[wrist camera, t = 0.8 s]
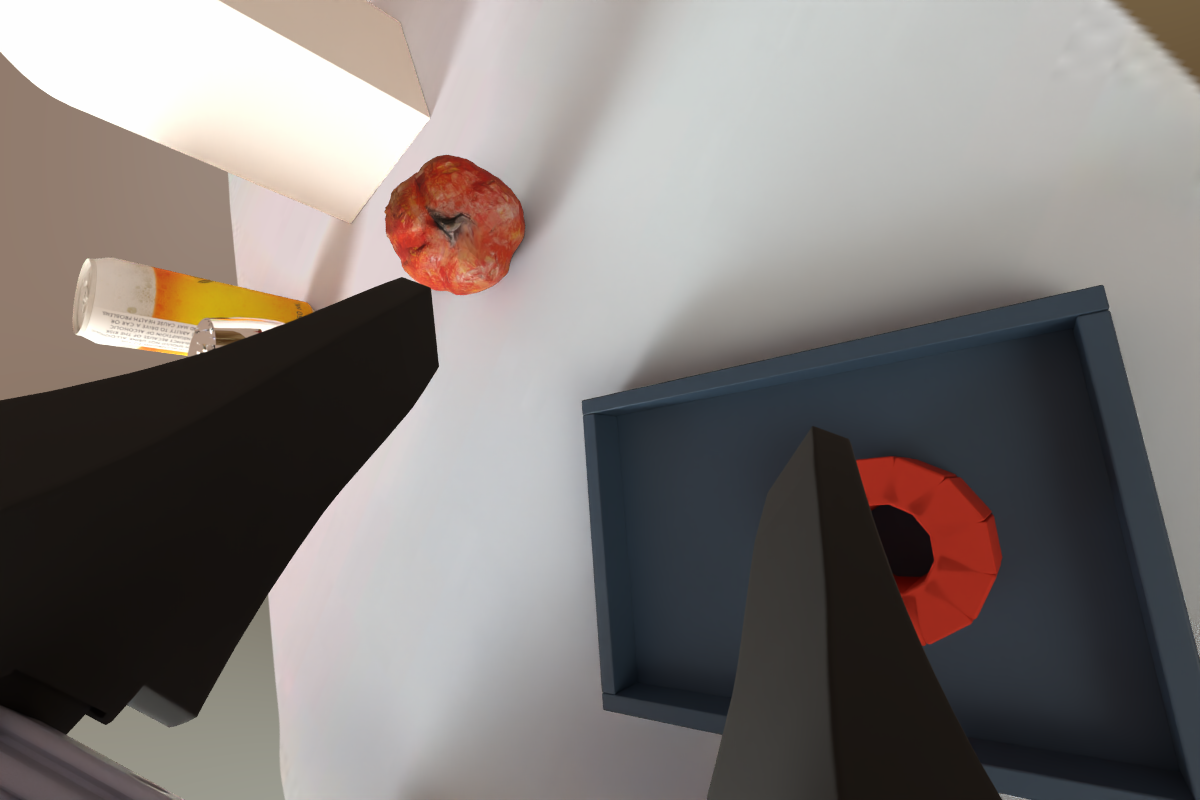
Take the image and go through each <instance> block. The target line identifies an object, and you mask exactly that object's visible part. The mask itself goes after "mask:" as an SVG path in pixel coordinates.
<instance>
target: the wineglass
mask: <svg viewBox="0 0 1200 800" xmlns="http://www.w3.org/2000/svg"><path fill="white" fill-rule="evenodd" d="M283 324H285V323H284V322H280V321H275V320H269V319H261V318H247V317H214V318H204V319H202V320H201V321H200V322H199V324H198V325H197V327H196V329H195V331H194V333H193V336H192V339H191V342H190V346H189V350H188V356H187V357H190V356H193V355H197V354H200V353H203V352H206V351H209V350H212V349H215V348H219V347H222V346H224V345H227V344H230V343H233V342H235V341H238V340H241V339H244V338H247V337H249V336H252V335H255V334H258V333H260V332H263V331H266V330H269V329H272V328H274V327H277V326H280V325H283Z"/></svg>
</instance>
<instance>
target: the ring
mask: <svg viewBox="0 0 1200 800" xmlns="http://www.w3.org/2000/svg"><path fill="white" fill-rule="evenodd" d="M856 462H857V466H858V469H859V473H860V476H861V480H862V483H863V486H864V490H865V493H866V496H867V500H868V503H869V506H870V509H871V511H872V510H873V509H875V508H877V507H878V506H880V505H891V506H893V507H896V508H898V509H900V510H902V511H905V512H907V513H909V514H911V515H913V516H914V517H915V519H916V520H917V521H918V522H919V523H920V525H921V526H922V527H923V528H924V529H925V531H926V532H927V533H928V534H929V535H930V540H931V546H932V551H933V557H934V562H933V564H932V566H931V568H930V570H929V573H927V574H925V575H923V576H922V577H902V576H896V575H894V574H893V576H894V579H895V581H896V584H897V586H898V589H899V592H900V594H901V597H902V599H903V602H904V604H905V607H906V609H907V611H908V614H909V616H910V619H911V621H912V623H913V626H914V628H915V631H916V633H917V635H918V638H919V640H920V642H921V644H922V646H925V645H926V644H932V643H934V642H936V641H938V640H940V639H942V638H944V637H946V636H948V635H950V634H952V633H954V632H956V631H958V630H960V629H962V628H964V627H966V626H968V625H970V624H972V622H973V620H974V619H976V618H977V617H978V615H979V613H980V611H981V608H982V606H983V604H984V602H985V600H986V598H987V596H988V594H989V592H990V590H991V588H992V586H993V584H994V581H995V579H996V577H997V574H998V571H999V568H1000V566H1001V560H1002V553H1001V548H1000V544H999V539H998V534H997V529H996V524H995V519H994V515H993V514H991V513H992V512H991V510H990V509H989V508H988V507H987V506H986V505H985V503H984V502H983V501H982V500H981V499H980V498H979V497H978V496H977V495H976V494H975V492H974V491H973V490H972V489H971V488H970V487H969V486H968V485H967V484H966V483H965V482H964V480H963V479H962V478H961V477H957V475H955V474H953V473H951V472H948V471H946V470H943V469H940V468H938V467H935V466H933V465H930V464H927V463H925V462H922V461H919V460H917V459H911V458H904V457H894V456H888V457H878V458H868V459H858V460H856Z"/></svg>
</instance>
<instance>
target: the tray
mask: <svg viewBox="0 0 1200 800" xmlns="http://www.w3.org/2000/svg"><path fill="white" fill-rule="evenodd" d="M1108 309H1109V304H1108V300H1107V296H1106V293H1105V289H1104V286H1103V285H1099V286H1094V287H1090V288H1085V289H1081V290H1076V291H1072V292H1067V293H1063V294H1058V295H1054V296H1049V297H1045V298H1040V299H1036V300H1031V301H1027V302H1022V303H1018V304H1013V305H1009V306H1005V307H1000V308H996V309H991V310H987V311H982V312H978V313H973V314H969V315H964V316H960V317H955V318H951V319H946V320H942V321H937V322H933V323H928V324H924V325H919V326H915V327H910V328H906V329H901V330H897V331H892V332H888V333H883V334H879V335H874V336H870V337H865V338H861V339H856V340H852V341H847V342H843V343H838V344H834V345H830V346H825V347H821V348H816V349H812V350H807V351H803V352H798V353H794V354H789V355H785V356H780V357H776V358H771V359H767V360H762V361H758V362H753V363H749V364H744V365H740V366H735V367H731V368H726V369H722V370H717V371H713V372H708V373H704V374H699V375H695V376H690V377H686V378H681V379H677V380H672V381H668V382H664V383H659V384H655V385H650V386H646V387H641V388H637V389H632V390H628V391H623V392H619V393H614V394H610V395H605V396H601V397H596V398H592V399H587V400H583V401H582V411H583V415H584V416H583V423H584V437H585V452H586V466H587V481H588V495H589V510H590V525H591V539H592V554H593V568H594V583H595V597H596V612H597V626H598V641H599V655H600V670H601V685H602V692H603V693H602V699H603V710H606V711H611V712H616V713H620V714H625V715H630V716H635V717H639V718H644V719H649V720H654V721H659V722H663V723H668V724H673V725H678V726H682V727H687V728H692V729H697V730H701V731H706V732H711V733H716V734H721V735H723V731H724V727H725V723H726V719H727V714H728V710H729V706H730V702H731V698H732V693H733V689H734V683H735V677H736V672H737V666H738V659H739V652H740V644H741V637H742V629H743V622H744V614H745V607H746V599H747V592H748V584H749V577H750V570H751V562H752V555H753V549H754V543H755V539H756V535H757V531H758V527H759V523H760V519H761V515H762V512H763V508H764V504H765V501H766V497H767V493H768V492H769V490H770V489H771V487H772V486H773V484H774V483H775V481H776V480H777V478H778V477H779V475H780V474H781V472H782V471H783V469H784V468H785V466H786V465H787V463H788V462H789V460H790V459H791V457H792V456H793V454H794V453H795V451H796V450H797V448H798V447H799V445H800V444H801V442H802V441H803V439H804V438H805V436H806V435H807V433H808V432H809V430H810V429H811V427H812V426H815V427H817V428H820V429H823V430H826V431H828V432H831V433H834V434H837V435H840V436H842V437H845V438H848V439H849V440H850V443H851V445H852V448H853V451H854V455H855V459H856V460H858V459H868V458H878V457H888V456H894V457H904V458H911V459H917V460H919V461H922V462H925V463H927V464H930V465H933V466H935V467H938V468H940V469H943V470H946V471H948V472H951V473H953V474H955V475H957V477H961V478H962V479H963V480H964V482H965V483H966V484H967V485H968V486H969V487H970V488H971V489H972V490H973V491H974V492H975V494H976V495H977V496H978V497H979V498H980V499H981V500H982V501H983V502H984V503H985V505H986V506H987V507H988V508H989V509H990V510H991V512H992V513H991V514H993V515H994V519H995V524H996V529H997V534H998V539H999V544H1000V548H1001V553H1002V560H1001V566H1000V568H999V571H998V574H997V577H996V579H995V581H994V584H993V586H992V588H991V590H990V592H989V594H988V596H987V598H986V600H985V602H984V604H983V606H982V608H981V611H980V613H979V615H978V617H977V618H976V619H974V620H973V622H972V624H970V625H968V626H966V627H964V628H962V629H960V630H958V631H956V632H954V633H952V634H950V635H948V636H946V637H944V638H942V639H940V640H938V641H936V642H934V643H932V644H926V645H925V646H922V647H923V649H924V651H925V653H926V656H927V658H928V660H929V662H930V664H931V667H932V669H933V671H934V673H935V675H936V677H937V679H938V681H939V683H940V685H941V687H942V689H943V691H944V693H945V695H946V698H947V700H948V702H949V704H950V706H951V708H952V710H953V712H954V714H955V716H956V718H957V719H958V721H959V723H960V725H961V727H962V729H963V731H964V733H965V735H966V736H967V738H968V740H969V742H970V744H971V746H972V748H973V750H974V752H975V754H976V755H977V757H978V759H979V761H980V762H981V764H982V766H983V768H984V769H985V771H986V773H987V775H988V776H989V778H990V780H991V781H992V783H993V785H994V787H995V788H996V790H997V792H998V793H1002V794H1007V795H1012V796H1016V797H1021V798H1026V799H1031V800H1200V659H1199V655H1198V651H1197V647H1196V643H1195V639H1194V635H1193V631H1192V627H1191V624H1190V620H1189V616H1188V612H1187V608H1186V604H1185V600H1184V596H1183V592H1182V589H1181V585H1180V581H1179V577H1178V573H1177V569H1176V565H1175V561H1174V557H1173V554H1172V550H1171V546H1170V542H1169V538H1168V534H1167V530H1166V526H1165V523H1164V519H1163V515H1162V511H1161V507H1160V503H1159V499H1158V495H1157V491H1156V488H1155V484H1154V480H1153V476H1152V472H1151V468H1150V464H1149V460H1148V456H1147V453H1146V449H1145V445H1144V441H1143V437H1142V433H1141V429H1140V425H1139V421H1138V418H1137V414H1136V410H1135V406H1134V402H1133V398H1132V394H1131V390H1130V387H1129V383H1128V379H1127V375H1126V371H1125V367H1124V363H1123V359H1122V355H1121V352H1120V348H1119V344H1118V340H1117V336H1116V332H1115V328H1114V324H1113V320H1112V317H1111V313H1110V311H1109V310H1108ZM871 512H872V516H873V519H874V522H875V525H876V528H877V531H878V534H879V537H880V540H881V542H882V545H883V548H884V551H885V554H886V556H887V559H888V562H889V565H890V568H891V570H892V573H893V574H894V575H896V576H902V577H922V576H923V575H925V574H927V573H929V570H930V568H931V566H932V564H933V562H934V557H933V551H932V546H931V540H930V535H929V534H928V533H927V532H926V531H925V529H924V528H923V527H922V526H921V525H920V523H919V522H918V521H917V520H916V519H915V517H914V516H913V515H911V514H909V513H907V512H905V511H902V510H900V509H898V508H896V507H893V506H891V505H880V506H878V507H877V508H875V509H873V510H872V511H871Z"/></svg>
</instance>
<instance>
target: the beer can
mask: <svg viewBox="0 0 1200 800" xmlns="http://www.w3.org/2000/svg"><path fill="white" fill-rule="evenodd" d="M313 312H315V310H313V309H312V307H311V306H310V305H309V304H308V303H306V302H302V301H298V300H294V299H289V298H285V297H281V296H276V295H272V294H268V293H263V292H259V291H255V290H250V289H246V288H242V287H237V286H233V285H229V284H224V283H220V282H216V281H211V280H207V279H203V278H198V277H194V276H190V275H185V274H181V273H176V272H172V271H168V270H164V269H159V268H155V267H151V266H146V265H142V264H137V263H133V262H129V261H125V260H120V259H116V258H111V257H110V258H101V259H90V258H88V259H86V261H85V262H84V264H83V266H82V270H81V272H80V276H79V279H78V283H77V288H76V293H75V299H74V306H73V331H74V333H75V334H76V335H81V336H83V337H85V338H87V339H89V340H91V341H93V342H95V343H98V344H105V345H112V346H119V347H127V348H134V349H141V350H149V351H157V352H164V353H171V354H179V355H186V356H188V350H189V346H190V342H191V339H192V336H193V333H194V331H195V329H196V327H197V325H198V324H199V322H200V321H201V320H202V319H204V318H214V317H247V318H261V319H269V320H275V321H280V322H284V323H288V322H290V321H293V320H295V319H298V318H300V317H303V316H305V315H308V314H310V313H313Z"/></svg>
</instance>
